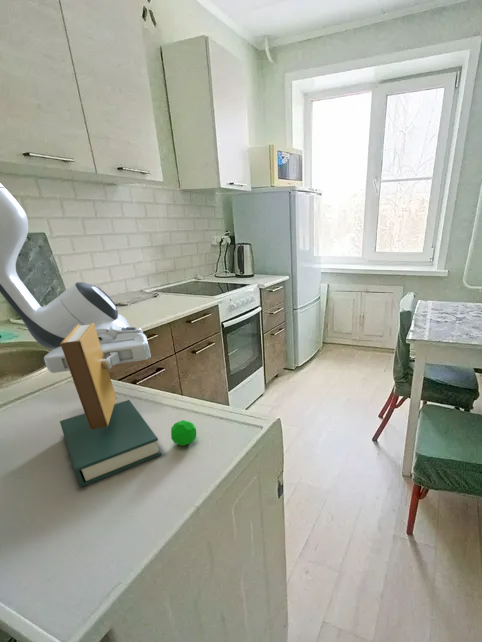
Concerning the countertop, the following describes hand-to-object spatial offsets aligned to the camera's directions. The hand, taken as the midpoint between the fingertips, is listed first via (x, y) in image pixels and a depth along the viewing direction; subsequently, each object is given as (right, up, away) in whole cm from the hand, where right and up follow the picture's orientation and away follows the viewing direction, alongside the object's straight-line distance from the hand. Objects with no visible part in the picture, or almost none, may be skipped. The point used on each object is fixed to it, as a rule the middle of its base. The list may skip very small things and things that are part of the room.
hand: (94, 367), depth 70 cm
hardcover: (+2, -16, +2) cm, 16 cm away
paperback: (+1, -9, +2) cm, 9 cm away
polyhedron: (+18, -15, +2) cm, 23 cm away
